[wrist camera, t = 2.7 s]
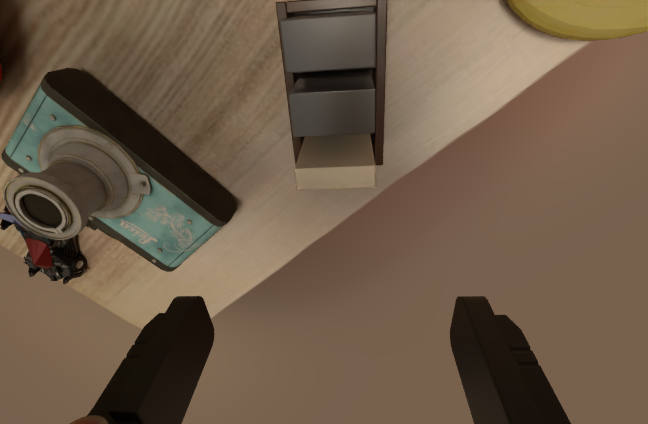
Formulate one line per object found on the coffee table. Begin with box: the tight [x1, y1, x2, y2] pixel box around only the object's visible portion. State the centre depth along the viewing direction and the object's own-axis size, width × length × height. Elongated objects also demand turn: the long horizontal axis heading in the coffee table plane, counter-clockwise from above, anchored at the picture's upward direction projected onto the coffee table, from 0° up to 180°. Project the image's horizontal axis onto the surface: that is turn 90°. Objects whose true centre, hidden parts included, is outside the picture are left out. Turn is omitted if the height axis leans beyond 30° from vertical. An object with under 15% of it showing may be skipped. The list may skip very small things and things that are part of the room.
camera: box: [1, 68, 237, 272], centre depth 27 cm, size 16×10×10 cm
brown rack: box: [276, 0, 387, 165], centre depth 22 cm, size 7×11×9 cm, turn 4°
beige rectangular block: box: [294, 133, 376, 190], centre depth 23 cm, size 5×1×9 cm, turn 94°
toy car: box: [0, 204, 85, 284], centre depth 34 cm, size 6×12×4 cm, turn 166°
